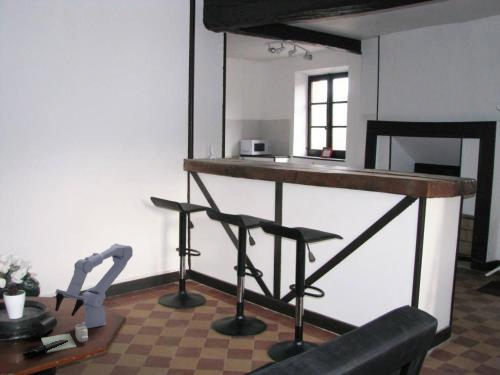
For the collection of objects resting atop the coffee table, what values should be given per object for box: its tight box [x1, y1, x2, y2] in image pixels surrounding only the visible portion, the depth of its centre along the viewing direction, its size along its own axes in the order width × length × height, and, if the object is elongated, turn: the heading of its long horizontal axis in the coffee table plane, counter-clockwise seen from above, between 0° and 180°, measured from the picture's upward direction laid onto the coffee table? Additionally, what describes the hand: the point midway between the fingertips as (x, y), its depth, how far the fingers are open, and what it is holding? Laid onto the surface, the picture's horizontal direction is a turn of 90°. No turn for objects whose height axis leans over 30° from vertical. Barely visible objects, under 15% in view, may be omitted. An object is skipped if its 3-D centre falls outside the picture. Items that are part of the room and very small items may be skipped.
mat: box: [41, 333, 77, 353], centre depth 222 cm, size 12×16×1 cm
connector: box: [74, 323, 89, 343], centre depth 226 cm, size 4×13×5 cm, turn 30°
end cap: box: [31, 315, 58, 338], centre depth 233 cm, size 10×7×7 cm
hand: (64, 313), depth 228 cm, fingers open, 7 cm apart
